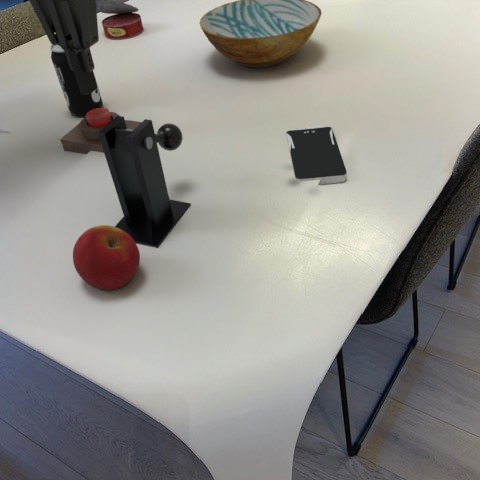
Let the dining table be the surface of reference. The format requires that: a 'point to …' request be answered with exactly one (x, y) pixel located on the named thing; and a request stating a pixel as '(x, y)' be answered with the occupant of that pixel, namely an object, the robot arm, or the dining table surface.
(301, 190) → the dining table surface
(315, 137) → the smartphone
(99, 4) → the canned food
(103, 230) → the apple
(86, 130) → the button block
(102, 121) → the button
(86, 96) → the beverage can
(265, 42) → the bowl
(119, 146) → the black ball lever
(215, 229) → the dining table surface
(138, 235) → the black lever stand
